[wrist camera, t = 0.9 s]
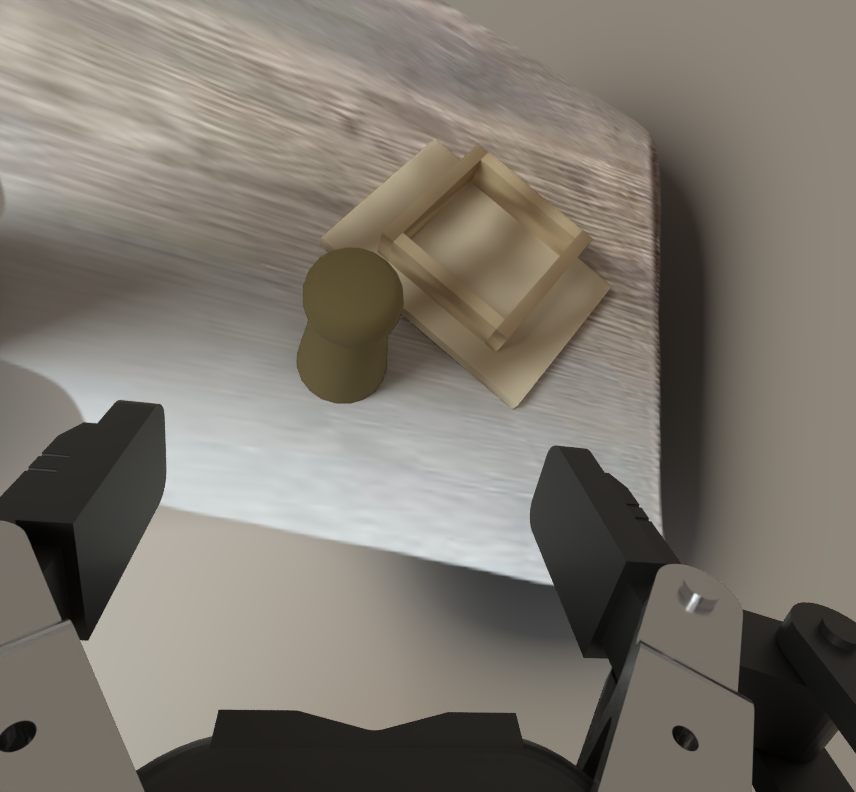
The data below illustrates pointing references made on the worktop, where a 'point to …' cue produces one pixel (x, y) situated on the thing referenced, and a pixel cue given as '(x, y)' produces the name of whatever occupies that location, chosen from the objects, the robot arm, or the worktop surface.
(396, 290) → the cork
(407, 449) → the worktop surface
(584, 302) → the stand
